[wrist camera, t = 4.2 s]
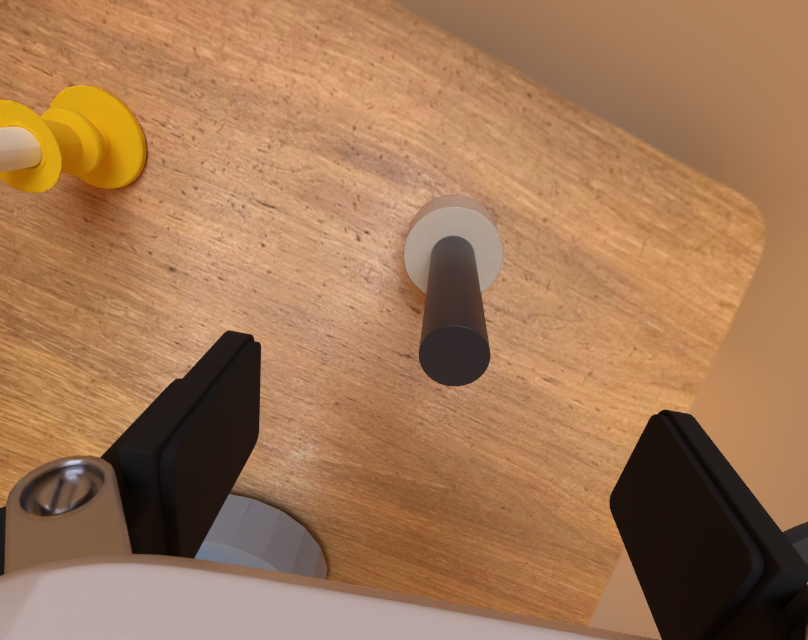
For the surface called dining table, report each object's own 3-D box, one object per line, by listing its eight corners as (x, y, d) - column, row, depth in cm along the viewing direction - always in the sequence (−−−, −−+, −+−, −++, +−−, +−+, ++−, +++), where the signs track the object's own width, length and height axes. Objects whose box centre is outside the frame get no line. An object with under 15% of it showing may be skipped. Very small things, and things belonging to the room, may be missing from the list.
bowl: (337, 505, 36) (321, 563, 31) (321, 620, 42) (306, 682, 38) (147, 469, 36) (103, 521, 31) (161, 589, 43) (127, 647, 38)
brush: (507, 204, 25) (559, 298, 13) (485, 288, 27) (512, 434, 15) (416, 187, 25) (386, 266, 13) (401, 273, 27) (364, 406, 15)
